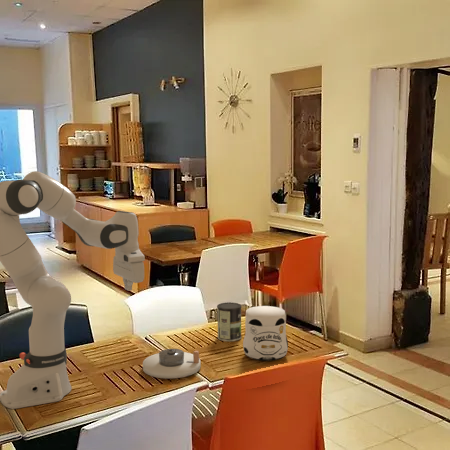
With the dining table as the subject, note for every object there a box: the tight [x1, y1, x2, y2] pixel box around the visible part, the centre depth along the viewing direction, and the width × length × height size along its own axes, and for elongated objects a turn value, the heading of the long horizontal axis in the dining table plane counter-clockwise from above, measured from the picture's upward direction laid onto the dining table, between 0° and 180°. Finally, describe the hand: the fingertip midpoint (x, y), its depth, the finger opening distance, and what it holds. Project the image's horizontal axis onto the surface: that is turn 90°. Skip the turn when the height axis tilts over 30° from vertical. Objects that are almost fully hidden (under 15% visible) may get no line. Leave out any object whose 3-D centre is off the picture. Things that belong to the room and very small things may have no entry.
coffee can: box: [216, 301, 242, 342], centre depth 244 cm, size 10×10×14 cm
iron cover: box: [158, 348, 185, 367], centre depth 210 cm, size 9×9×5 cm
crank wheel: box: [142, 350, 202, 379], centre depth 210 cm, size 21×21×6 cm
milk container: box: [242, 305, 289, 362], centre depth 222 cm, size 17×17×18 cm
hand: (128, 289), depth 218 cm, fingers closed
